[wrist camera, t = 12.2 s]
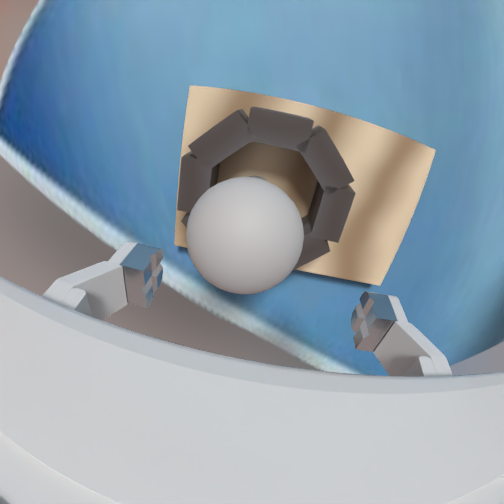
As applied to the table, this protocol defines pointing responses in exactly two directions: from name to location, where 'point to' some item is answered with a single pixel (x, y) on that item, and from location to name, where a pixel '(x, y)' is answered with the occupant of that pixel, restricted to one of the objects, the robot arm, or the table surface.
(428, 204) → the table surface
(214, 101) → the socket board
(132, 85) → the table surface
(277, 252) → the lightbulb
